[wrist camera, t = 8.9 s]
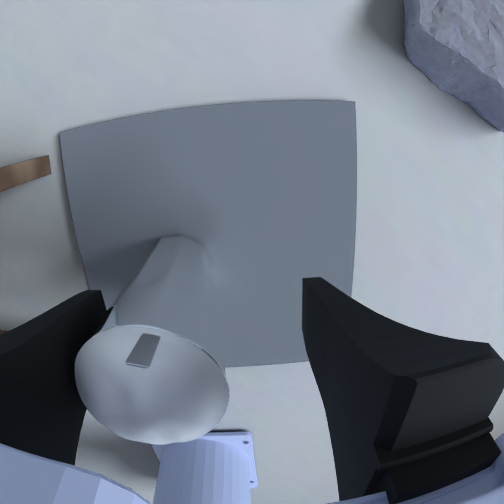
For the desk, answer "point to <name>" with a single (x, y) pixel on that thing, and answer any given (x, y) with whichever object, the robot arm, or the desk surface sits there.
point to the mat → (224, 207)
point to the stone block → (460, 50)
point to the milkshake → (158, 351)
